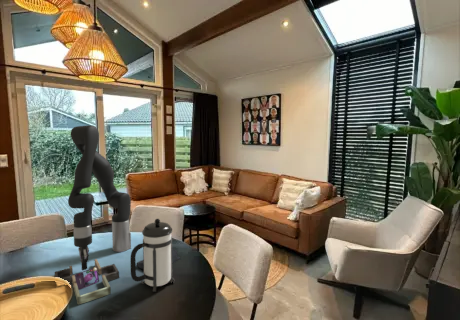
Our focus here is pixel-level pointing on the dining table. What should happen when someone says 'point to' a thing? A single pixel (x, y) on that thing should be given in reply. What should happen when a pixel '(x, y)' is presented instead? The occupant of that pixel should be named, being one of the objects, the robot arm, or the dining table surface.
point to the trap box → (107, 275)
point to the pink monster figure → (86, 278)
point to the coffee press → (155, 255)
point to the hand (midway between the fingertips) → (84, 269)
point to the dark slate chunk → (174, 259)
